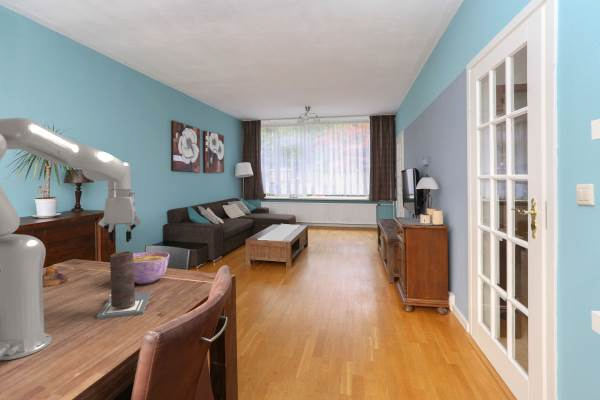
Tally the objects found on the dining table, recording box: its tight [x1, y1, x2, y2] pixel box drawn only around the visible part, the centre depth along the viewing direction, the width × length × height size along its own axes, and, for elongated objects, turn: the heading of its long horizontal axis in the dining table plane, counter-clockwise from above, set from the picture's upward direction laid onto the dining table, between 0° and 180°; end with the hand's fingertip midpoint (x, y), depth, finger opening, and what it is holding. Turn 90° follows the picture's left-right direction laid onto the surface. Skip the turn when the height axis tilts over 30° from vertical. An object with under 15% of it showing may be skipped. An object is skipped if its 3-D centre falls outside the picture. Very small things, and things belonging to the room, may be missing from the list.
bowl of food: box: [133, 251, 170, 285], centre depth 141 cm, size 20×20×12 cm
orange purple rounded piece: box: [42, 266, 69, 288], centre depth 137 cm, size 12×12×7 cm
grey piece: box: [96, 290, 152, 320], centre depth 114 cm, size 20×14×4 cm
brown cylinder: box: [109, 250, 136, 308], centre depth 109 cm, size 8×7×20 cm
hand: (120, 241), depth 117 cm, fingers open, 4 cm apart
